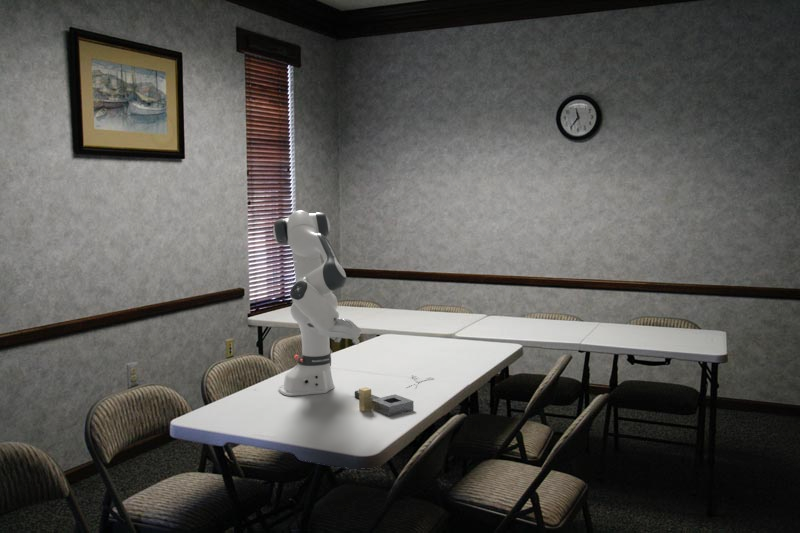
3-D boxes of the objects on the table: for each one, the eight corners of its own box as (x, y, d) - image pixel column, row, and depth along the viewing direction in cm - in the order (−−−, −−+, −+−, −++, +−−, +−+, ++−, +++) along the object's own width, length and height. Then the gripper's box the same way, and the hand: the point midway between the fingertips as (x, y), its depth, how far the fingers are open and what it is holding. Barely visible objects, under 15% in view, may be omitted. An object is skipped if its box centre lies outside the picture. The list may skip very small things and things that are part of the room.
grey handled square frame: (389, 416, 246) (389, 406, 246) (344, 398, 269) (344, 389, 269) (413, 410, 253) (413, 400, 252) (368, 393, 276) (368, 384, 275)
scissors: (435, 376, 298) (423, 388, 279) (435, 378, 299) (423, 390, 280) (411, 375, 302) (397, 386, 283) (411, 376, 302) (397, 388, 283)
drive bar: (364, 412, 251) (363, 390, 251) (359, 410, 254) (359, 388, 253) (371, 410, 253) (371, 389, 252) (366, 408, 256) (366, 387, 255)
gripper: (350, 312, 232) (373, 336, 240) (311, 309, 246) (333, 332, 254) (341, 327, 229) (364, 351, 237) (302, 323, 243) (324, 346, 251)
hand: (348, 341), depth 245 cm, fingers open, 8 cm apart
